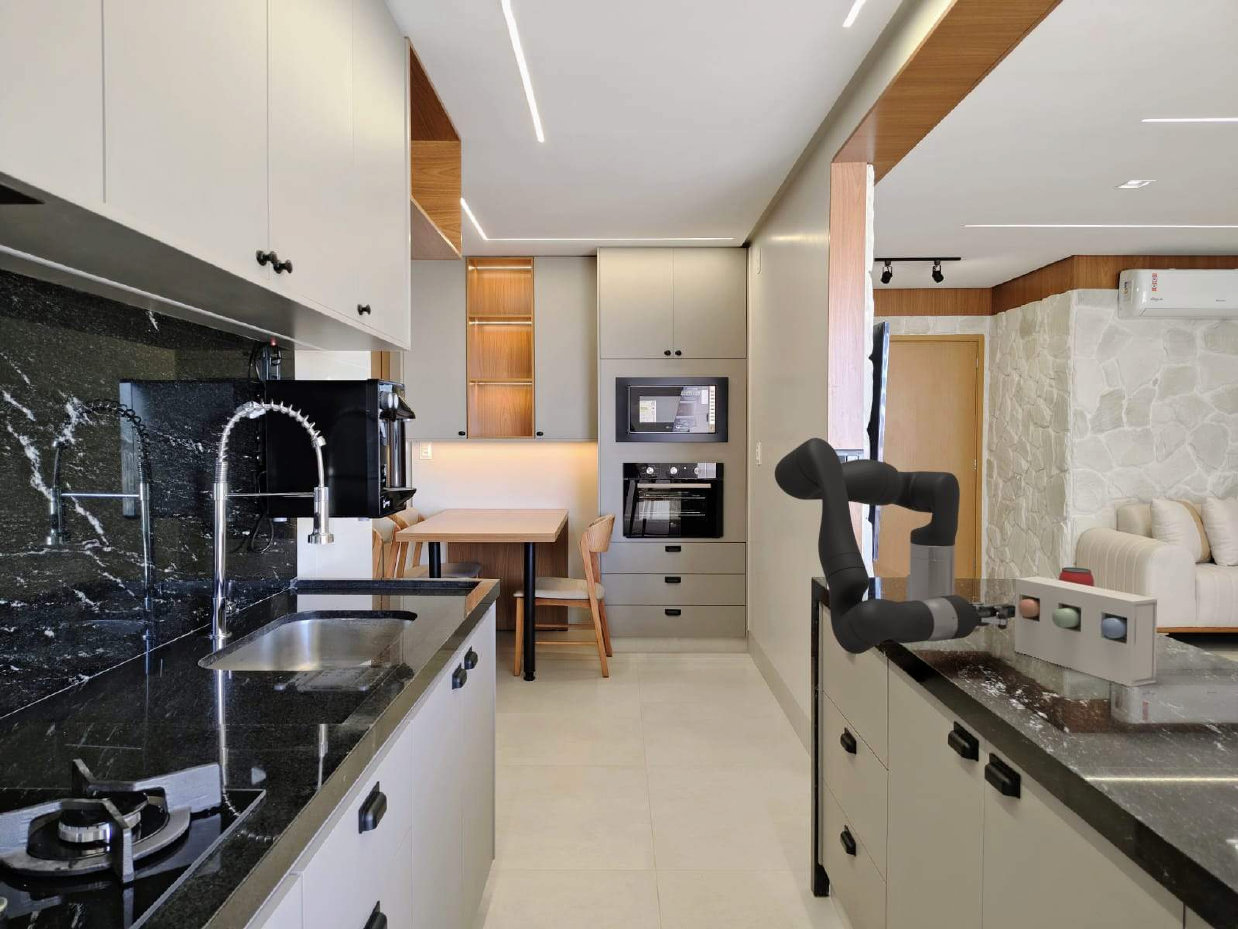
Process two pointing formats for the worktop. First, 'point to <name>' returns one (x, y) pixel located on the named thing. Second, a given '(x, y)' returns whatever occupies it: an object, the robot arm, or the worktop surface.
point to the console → (1089, 630)
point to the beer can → (1077, 576)
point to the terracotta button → (1030, 607)
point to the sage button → (1067, 617)
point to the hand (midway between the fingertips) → (1011, 610)
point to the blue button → (1114, 627)
